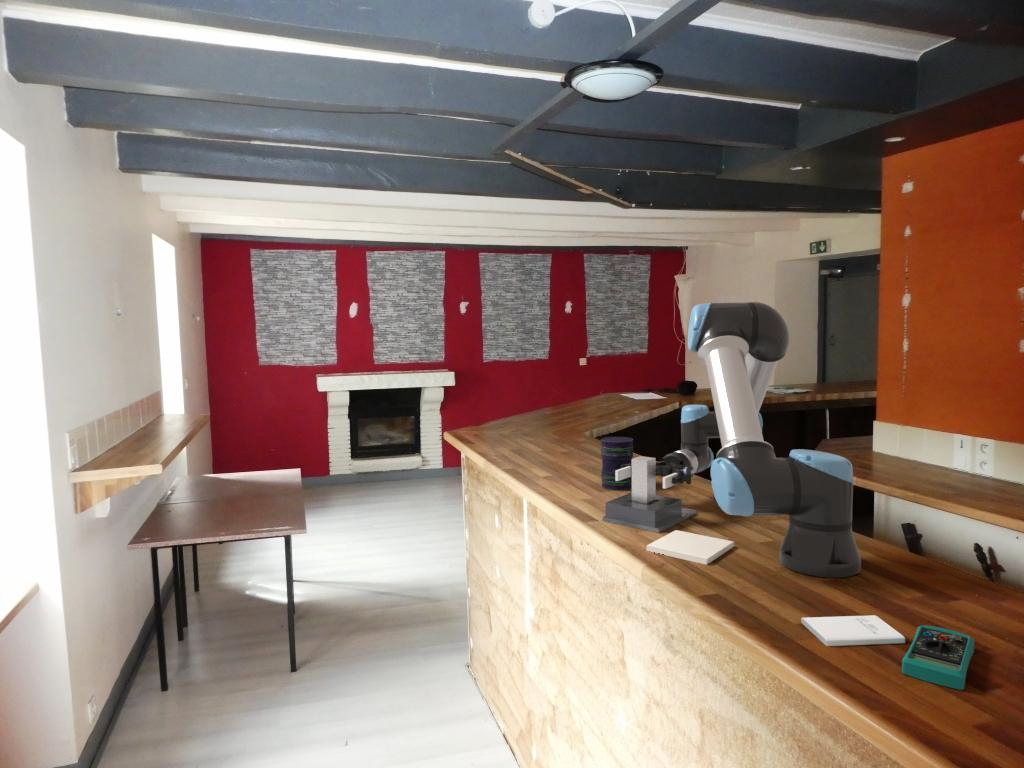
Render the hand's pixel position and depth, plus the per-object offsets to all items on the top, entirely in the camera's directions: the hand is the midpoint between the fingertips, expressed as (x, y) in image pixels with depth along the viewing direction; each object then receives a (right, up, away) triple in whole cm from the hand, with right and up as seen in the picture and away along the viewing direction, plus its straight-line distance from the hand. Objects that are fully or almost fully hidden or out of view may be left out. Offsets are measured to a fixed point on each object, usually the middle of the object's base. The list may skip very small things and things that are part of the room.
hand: (639, 479), depth 166 cm
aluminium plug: (+1, -10, +2) cm, 10 cm away
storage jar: (0, -8, +37) cm, 38 cm away
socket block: (+3, -11, +4) cm, 12 cm away
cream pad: (+7, -13, -20) cm, 25 cm away
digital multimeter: (+30, -17, -70) cm, 78 cm away
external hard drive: (+22, -16, -61) cm, 67 cm away
